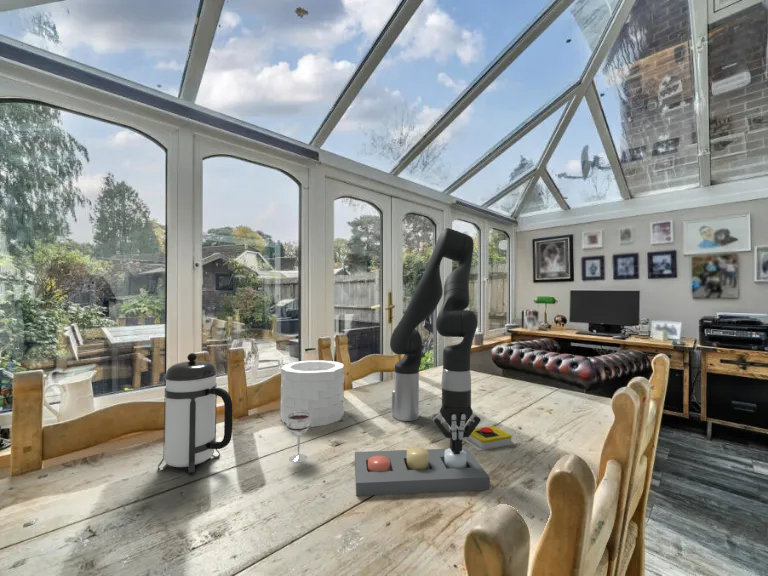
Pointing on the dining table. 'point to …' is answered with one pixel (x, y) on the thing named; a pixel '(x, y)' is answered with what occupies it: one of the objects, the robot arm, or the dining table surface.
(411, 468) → the ochre button
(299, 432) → the wineglass
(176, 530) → the dining table surface
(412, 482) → the control panel
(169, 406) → the coffee press
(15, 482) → the dining table surface
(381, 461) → the red button
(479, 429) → the emergency button
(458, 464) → the blue button
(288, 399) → the basket
